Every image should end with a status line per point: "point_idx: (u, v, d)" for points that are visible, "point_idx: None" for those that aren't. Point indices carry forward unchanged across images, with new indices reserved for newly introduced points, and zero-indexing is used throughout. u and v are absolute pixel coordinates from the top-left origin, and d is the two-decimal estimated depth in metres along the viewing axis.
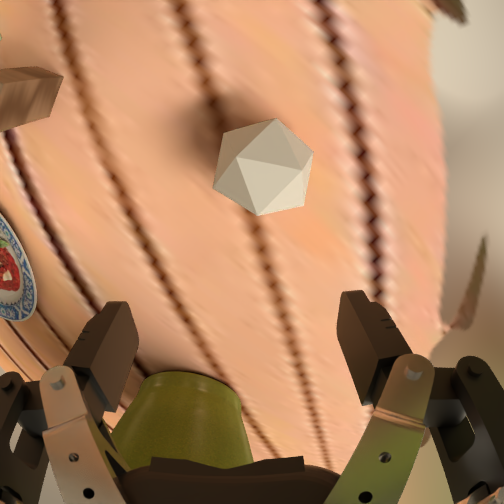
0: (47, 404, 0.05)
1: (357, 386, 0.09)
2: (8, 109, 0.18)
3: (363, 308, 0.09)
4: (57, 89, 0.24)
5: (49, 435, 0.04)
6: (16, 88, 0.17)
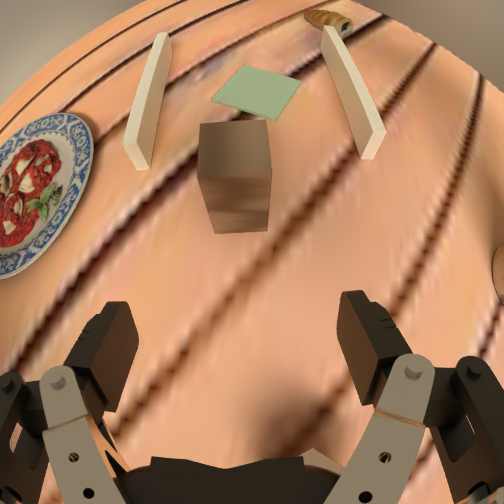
0: (47, 404, 0.05)
1: (356, 386, 0.09)
2: (232, 188, 0.21)
3: (363, 309, 0.09)
4: (250, 230, 0.29)
5: (49, 435, 0.04)
6: (261, 189, 0.22)
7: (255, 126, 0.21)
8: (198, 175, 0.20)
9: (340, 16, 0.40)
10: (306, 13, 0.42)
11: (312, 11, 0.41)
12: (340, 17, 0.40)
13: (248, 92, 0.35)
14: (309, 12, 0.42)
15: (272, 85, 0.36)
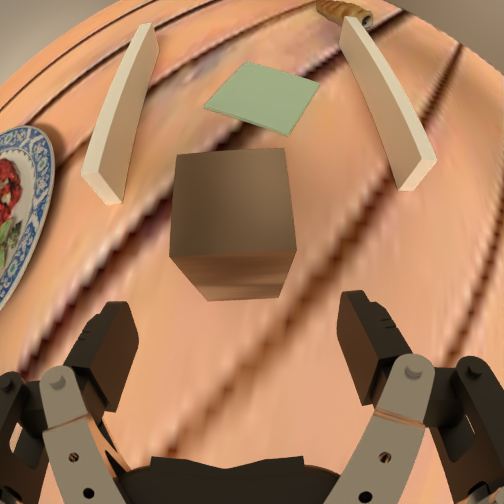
0: (47, 404, 0.05)
1: (357, 386, 0.09)
2: (228, 267, 0.13)
3: (363, 309, 0.09)
4: (256, 298, 0.21)
5: (49, 435, 0.04)
6: (275, 266, 0.14)
7: (267, 160, 0.13)
8: (171, 254, 0.12)
9: (359, 8, 0.32)
10: (319, 4, 0.34)
11: (326, 2, 0.33)
12: (360, 9, 0.32)
13: (252, 97, 0.27)
14: (322, 2, 0.34)
15: (283, 88, 0.28)
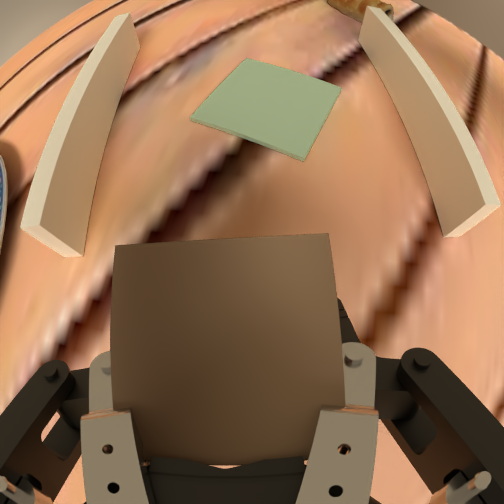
0: (93, 388, 0.06)
1: None
2: None
3: None
4: None
5: (87, 421, 0.05)
6: None
7: (295, 265, 0.06)
8: None
9: (378, 1, 0.25)
10: None
11: None
12: (379, 2, 0.25)
13: (254, 104, 0.21)
14: None
15: (294, 93, 0.21)
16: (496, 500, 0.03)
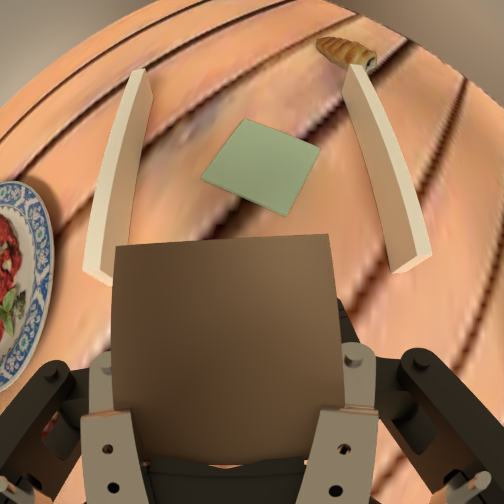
0: (93, 388, 0.06)
1: None
2: None
3: None
4: None
5: (87, 422, 0.05)
6: None
7: (295, 266, 0.06)
8: None
9: (363, 48, 0.33)
10: (319, 42, 0.35)
11: (327, 40, 0.35)
12: (364, 50, 0.33)
13: (250, 167, 0.28)
14: (323, 41, 0.35)
15: (282, 155, 0.29)
16: (496, 500, 0.03)
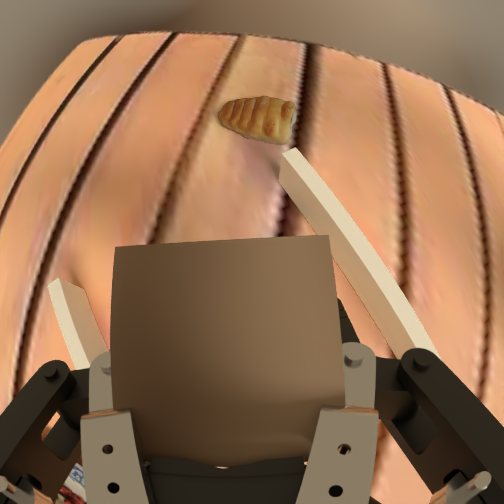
0: (93, 388, 0.06)
1: None
2: None
3: None
4: None
5: (87, 421, 0.05)
6: None
7: (296, 267, 0.06)
8: None
9: (278, 105, 0.32)
10: (223, 119, 0.33)
11: (231, 112, 0.33)
12: (280, 108, 0.32)
13: None
14: (228, 115, 0.33)
15: None
16: (496, 500, 0.03)
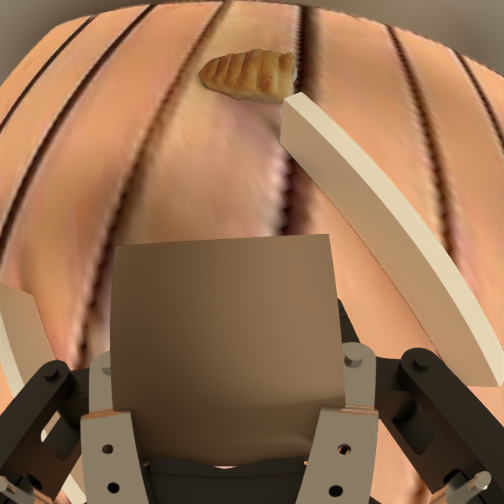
0: (93, 388, 0.06)
1: None
2: None
3: None
4: None
5: (87, 421, 0.05)
6: None
7: (296, 266, 0.06)
8: None
9: (274, 56, 0.23)
10: (206, 77, 0.24)
11: (216, 68, 0.24)
12: (277, 59, 0.23)
13: None
14: (211, 72, 0.24)
15: None
16: (496, 500, 0.03)
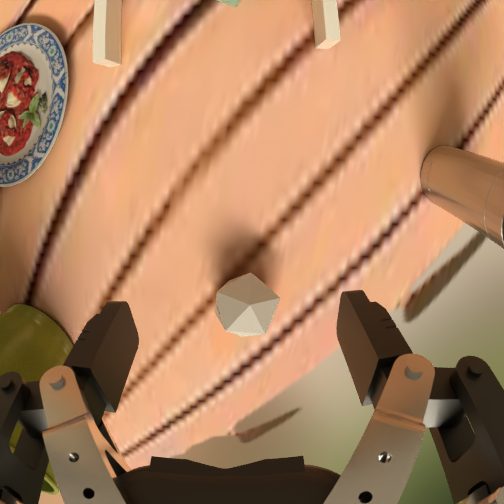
0: (47, 404, 0.05)
1: (357, 386, 0.09)
2: None
3: (363, 308, 0.09)
4: None
5: (49, 435, 0.04)
6: None
7: None
8: None
9: None
10: None
11: None
12: None
13: None
14: None
15: None
16: None
